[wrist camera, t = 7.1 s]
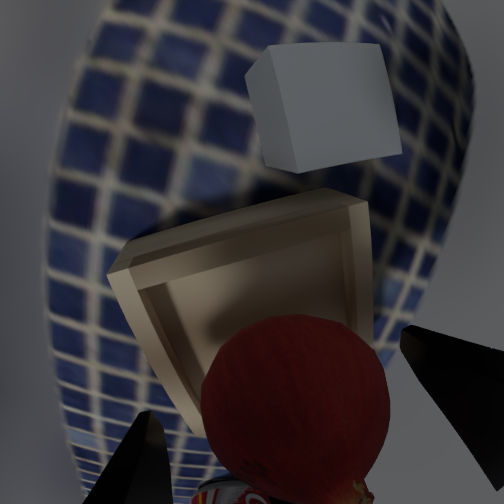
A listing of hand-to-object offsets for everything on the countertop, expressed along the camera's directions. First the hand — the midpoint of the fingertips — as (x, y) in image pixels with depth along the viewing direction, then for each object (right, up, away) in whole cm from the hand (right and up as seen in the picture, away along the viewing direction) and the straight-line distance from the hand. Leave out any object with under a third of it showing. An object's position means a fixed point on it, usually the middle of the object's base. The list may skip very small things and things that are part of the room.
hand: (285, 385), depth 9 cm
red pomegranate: (-1, +1, +3) cm, 3 cm away
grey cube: (+1, +10, +3) cm, 11 cm away
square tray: (-1, +2, +5) cm, 6 cm away
